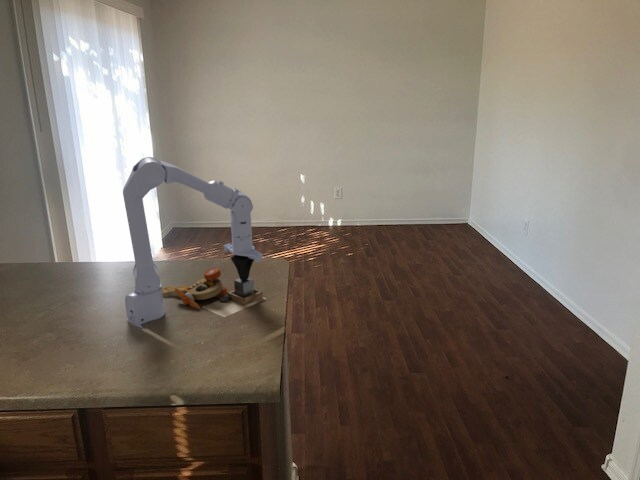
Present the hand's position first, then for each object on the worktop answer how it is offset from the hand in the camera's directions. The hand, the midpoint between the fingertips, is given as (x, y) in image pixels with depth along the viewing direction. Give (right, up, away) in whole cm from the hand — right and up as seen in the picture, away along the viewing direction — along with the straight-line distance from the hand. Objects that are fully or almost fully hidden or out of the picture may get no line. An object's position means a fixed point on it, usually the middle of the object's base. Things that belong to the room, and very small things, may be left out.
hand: (244, 279), depth 149 cm
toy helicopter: (-14, -1, +8) cm, 16 cm away
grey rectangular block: (0, -6, +2) cm, 6 cm away
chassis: (-3, -8, -1) cm, 8 cm away
